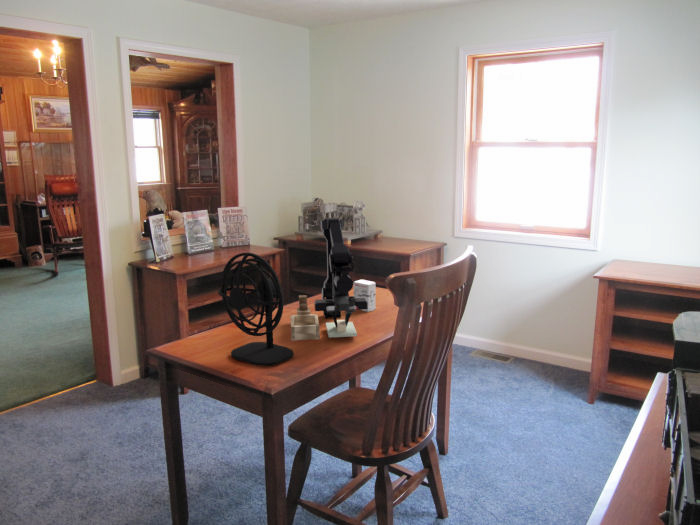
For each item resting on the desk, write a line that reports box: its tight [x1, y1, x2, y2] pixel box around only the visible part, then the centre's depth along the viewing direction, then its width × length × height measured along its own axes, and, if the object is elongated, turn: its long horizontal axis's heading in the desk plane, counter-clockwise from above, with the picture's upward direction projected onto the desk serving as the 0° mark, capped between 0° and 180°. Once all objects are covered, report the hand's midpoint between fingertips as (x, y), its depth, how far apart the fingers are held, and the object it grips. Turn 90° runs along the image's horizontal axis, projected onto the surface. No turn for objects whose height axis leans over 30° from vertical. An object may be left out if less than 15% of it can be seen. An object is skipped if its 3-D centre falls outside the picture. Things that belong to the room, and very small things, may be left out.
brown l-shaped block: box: [298, 294, 308, 310], centre depth 216 cm, size 3×7×4 cm, turn 7°
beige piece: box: [290, 306, 321, 341], centre depth 207 cm, size 10×20×6 cm, turn 7°
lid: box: [325, 319, 358, 338], centre depth 203 cm, size 10×14×4 cm
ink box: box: [353, 279, 377, 313], centre depth 234 cm, size 9×5×12 cm, turn 47°
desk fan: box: [217, 252, 295, 367], centre depth 179 cm, size 27×18×35 cm, turn 54°
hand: (341, 327), depth 202 cm, fingers closed on lid, 3 cm apart
